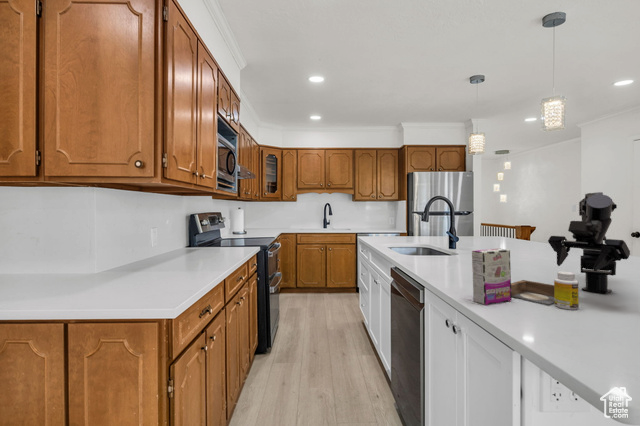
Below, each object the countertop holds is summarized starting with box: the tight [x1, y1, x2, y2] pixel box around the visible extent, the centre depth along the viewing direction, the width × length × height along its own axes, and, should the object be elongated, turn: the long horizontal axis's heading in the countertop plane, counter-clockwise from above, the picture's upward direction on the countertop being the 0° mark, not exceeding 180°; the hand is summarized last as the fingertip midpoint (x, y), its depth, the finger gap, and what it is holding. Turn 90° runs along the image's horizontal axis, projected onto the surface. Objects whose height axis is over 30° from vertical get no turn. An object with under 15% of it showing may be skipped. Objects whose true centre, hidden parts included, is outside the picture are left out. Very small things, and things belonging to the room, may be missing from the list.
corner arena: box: [511, 279, 555, 307], centre depth 99 cm, size 12×12×4 cm
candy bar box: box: [471, 248, 513, 306], centre depth 97 cm, size 11×5×16 cm, turn 109°
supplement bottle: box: [553, 271, 580, 311], centre depth 90 cm, size 6×6×10 cm
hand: (575, 267), depth 91 cm, fingers open, 9 cm apart
